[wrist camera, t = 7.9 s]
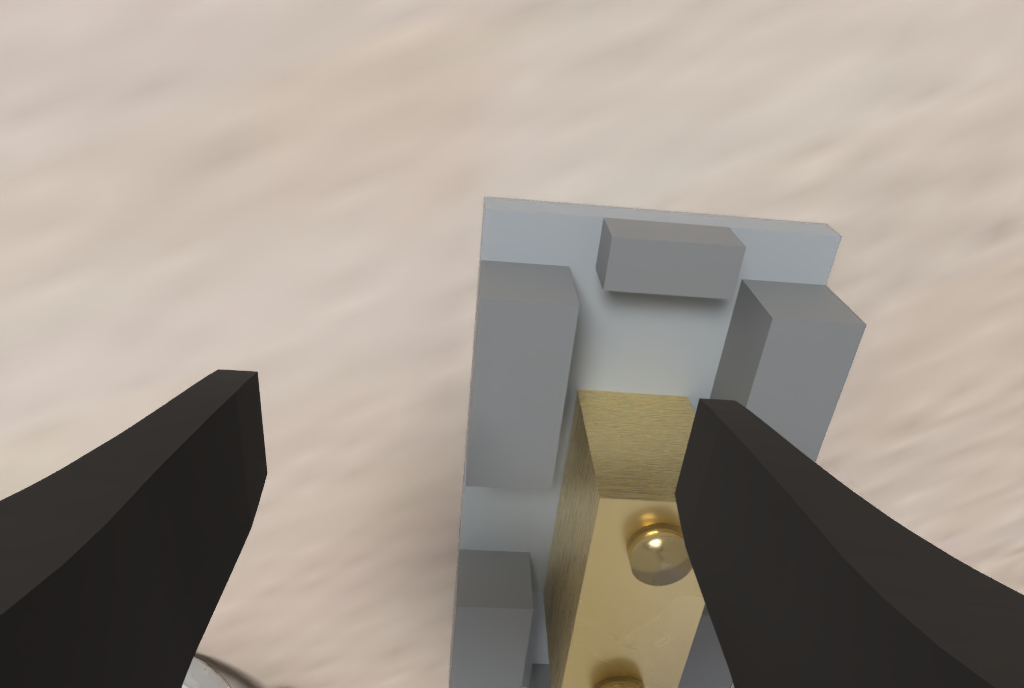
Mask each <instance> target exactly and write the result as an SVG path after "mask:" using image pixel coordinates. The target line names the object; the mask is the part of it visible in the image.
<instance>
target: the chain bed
mask: <svg viewBox="0 0 1024 688" xmlns="http://www.w3.org/2000/svg"><path fill="white" fill-rule="evenodd" d="M841 238H842V236H841V235H840V234H839V233H838V232H836V231H835V230H834V229H832V228H831V227H830V226H829V225H827V224H820V223H807V222H795V221H782V220H769V219H757V218H744V217H731V216H719V215H706V214H694V213H681V212H668V211H656V210H643V209H631V208H618V207H605V206H593V205H580V204H568V203H555V202H542V201H530V200H517V199H505V198H492V197H484V210H483V224H482V237H481V251H480V264H479V278H478V291H477V304H476V318H475V331H474V345H473V358H472V372H471V385H470V399H469V412H468V425H467V439H466V452H465V466H464V479H463V493H462V506H461V520H460V533H459V547H458V560H457V573H456V587H455V600H454V614H453V627H452V641H451V654H450V669H449V688H551V678H550V667H549V656H548V644H547V633H546V622H545V611H544V600H543V591H544V585H545V579H546V573H547V567H548V561H549V555H550V549H551V543H552V537H553V531H554V525H555V519H556V513H557V507H558V501H559V495H560V489H561V483H562V477H563V471H564V465H565V459H566V454H567V448H568V442H569V436H570V430H571V424H572V418H573V412H574V406H575V400H576V394H577V389H579V390H594V391H610V392H625V393H640V394H656V395H671V396H686V397H688V399H689V401H690V403H691V405H692V408H693V410H694V412H695V414H696V410H697V406H698V402H699V398H703V399H719V400H735V401H737V402H738V403H740V404H741V405H743V406H744V407H746V408H747V409H748V410H750V411H751V412H752V413H754V414H755V415H756V416H757V417H759V418H760V419H761V420H763V421H764V422H765V423H766V424H768V425H769V426H770V427H771V428H773V429H774V430H775V431H776V432H778V433H779V434H780V435H781V436H782V437H784V438H785V439H786V440H787V441H789V442H790V443H791V444H792V445H794V446H795V447H796V448H797V449H799V450H800V451H801V452H802V453H804V454H805V455H806V456H807V457H809V458H810V459H811V460H812V461H814V462H815V461H816V459H817V456H818V453H819V451H820V448H821V445H822V442H823V440H824V437H825V434H826V432H827V429H828V426H829V424H830V421H831V418H832V416H833V413H834V410H835V408H836V405H837V402H838V400H839V397H840V394H841V392H842V389H843V386H844V384H845V381H846V378H847V376H848V373H849V370H850V368H851V365H852V362H853V360H854V357H855V354H856V352H857V349H858V346H859V344H860V341H861V338H862V336H863V333H864V330H865V328H866V324H865V323H864V322H863V321H862V320H861V319H860V318H859V317H858V316H857V315H856V314H855V313H854V312H853V311H852V310H851V309H850V308H849V307H848V306H847V305H846V304H845V303H844V302H843V301H842V300H841V299H839V298H838V297H837V296H836V295H835V294H834V293H833V292H832V291H831V290H830V289H829V288H828V287H827V286H826V283H827V280H828V277H829V274H830V271H831V268H832V265H833V262H834V259H835V256H836V253H837V250H838V247H839V244H840V241H841ZM732 683H733V681H732V677H731V674H730V671H729V668H728V665H727V662H726V660H725V657H724V654H723V651H722V649H721V646H720V643H719V640H718V638H717V635H716V632H715V629H714V626H713V624H712V621H711V618H710V615H709V613H708V610H707V607H706V604H705V606H704V609H703V612H702V615H701V618H700V621H699V624H698V627H697V630H696V633H695V636H694V639H693V642H692V645H691V648H690V651H689V654H688V657H687V661H686V664H685V667H684V670H683V673H682V676H681V679H680V682H679V685H678V688H731V686H732Z"/></svg>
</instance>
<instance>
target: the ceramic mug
mask: <svg viewBox="0 0 1024 688" xmlns="http://www.w3.org/2000/svg"><path fill="white" fill-rule="evenodd" d="M182 688H231V687H230V685H229V684H228V682H227V681H226V680H225V679H224V678H223V677H222V676H221V675H219V674H218V673H217V672H216V671H215V670H214V669H212V668H211V667H210V666H208V665H207V663H206V662H204V661H202V660H200V659H198V658H196V657H193V660H192V662H191V665H190V667H189V670H188V672H187V675H186V677H185V680H184V682H183V685H182Z"/></svg>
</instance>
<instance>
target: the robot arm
mask: <svg viewBox="0 0 1024 688" xmlns="http://www.w3.org/2000/svg"><path fill="white" fill-rule="evenodd" d="M266 476H267V465H266V455H265V445H264V434H263V424H262V413H261V403H260V392H259V382H258V372H253V371H236V370H219V369H218V370H217V371H215V372H213V373H212V374H210V375H208V376H207V377H205V378H204V379H202V380H200V381H199V382H197V383H196V384H194V385H193V386H191V387H190V388H188V389H187V390H185V391H184V392H183V393H181V394H180V395H178V396H177V397H175V398H174V399H172V400H171V401H169V402H168V403H166V404H165V405H163V406H162V407H160V408H159V409H157V410H156V411H154V412H153V413H151V414H150V415H148V416H147V417H145V418H144V419H142V420H141V421H139V422H138V423H136V424H135V425H133V426H131V427H130V428H128V429H127V430H125V431H124V432H122V433H121V434H119V435H118V436H116V437H114V438H112V439H111V440H109V441H107V442H106V443H104V444H102V445H101V446H99V447H97V448H96V449H94V450H92V451H91V452H89V453H87V454H86V455H84V456H82V457H81V458H79V459H77V460H76V461H74V462H72V463H71V464H69V465H67V466H66V467H64V468H62V469H61V470H59V471H57V472H55V473H53V474H52V475H50V476H48V477H46V478H44V479H42V480H41V481H39V482H37V483H35V484H33V485H31V486H29V487H27V488H25V489H23V490H21V491H19V492H17V493H15V494H13V495H11V496H9V497H7V498H5V499H3V500H1V501H0V688H182V685H183V682H184V680H185V677H186V675H187V672H188V670H189V667H190V665H191V662H192V660H193V657H194V655H195V652H196V650H197V648H198V646H199V643H200V641H201V639H202V637H203V635H204V632H205V630H206V628H207V626H208V624H209V621H210V619H211V617H212V615H213V612H214V610H215V608H216V606H217V604H218V601H219V599H220V597H221V595H222V593H223V590H224V588H225V586H226V584H227V582H228V579H229V577H230V575H231V573H232V571H233V568H234V566H235V564H236V562H237V559H238V557H239V555H240V553H241V550H242V548H243V546H244V544H245V541H246V539H247V537H248V534H249V532H250V530H251V527H252V524H253V521H254V517H255V514H256V511H257V508H258V505H259V501H260V497H261V494H262V490H263V487H264V483H265V480H266ZM675 499H676V504H677V509H678V514H679V520H680V525H681V529H682V534H683V538H684V543H685V547H686V550H687V553H688V556H689V559H690V562H691V565H692V568H693V570H694V573H695V576H696V579H697V582H698V585H699V588H700V590H701V593H702V596H703V599H704V601H705V604H706V607H707V610H708V613H709V615H710V618H711V621H712V624H713V626H714V629H715V632H716V635H717V638H718V640H719V643H720V646H721V649H722V651H723V654H724V657H725V660H726V662H727V665H728V668H729V671H730V674H731V677H732V681H733V684H734V687H735V688H1024V595H1022V594H1020V593H1018V592H1017V591H1015V590H1013V589H1011V588H1009V587H1007V586H1005V585H1003V584H1001V583H999V582H998V581H996V580H994V579H992V578H990V577H988V576H986V575H984V574H982V573H980V572H979V571H977V570H975V569H973V568H972V567H970V566H968V565H966V564H964V563H963V562H961V561H959V560H957V559H956V558H954V557H952V556H951V555H949V554H947V553H946V552H944V551H942V550H941V549H939V548H937V547H936V546H934V545H933V544H931V543H929V542H928V541H926V540H924V539H923V538H921V537H920V536H918V535H916V534H915V533H913V532H911V531H910V530H908V529H907V528H905V527H904V526H902V525H901V524H899V523H898V522H896V521H894V520H893V519H891V518H890V517H888V516H887V515H886V514H884V513H883V512H881V511H880V510H879V509H877V508H876V507H874V506H873V505H871V504H870V503H869V502H867V501H866V500H864V499H863V498H862V497H860V496H859V495H857V494H856V493H854V492H853V491H852V490H850V489H849V488H848V487H846V486H845V485H844V484H842V483H841V482H840V481H838V480H837V479H836V478H834V477H833V476H832V475H830V474H829V473H828V472H827V471H825V470H824V469H823V468H821V467H820V466H819V465H818V464H816V463H815V462H814V461H812V460H811V459H810V458H809V457H807V456H806V455H805V454H804V453H802V452H801V451H800V450H799V449H797V448H796V447H795V446H794V445H792V444H791V443H790V442H789V441H787V440H786V439H785V438H784V437H782V436H781V435H780V434H779V433H778V432H776V431H775V430H774V429H773V428H771V427H770V426H769V425H768V424H766V423H765V422H764V421H763V420H761V419H760V418H759V417H757V416H756V415H755V414H754V413H752V412H751V411H750V410H748V409H747V408H746V407H744V406H743V405H741V404H740V403H738V402H737V401H735V400H719V399H703V398H699V402H698V406H697V410H696V414H695V417H694V421H693V425H692V429H691V433H690V437H689V440H688V444H687V448H686V452H685V456H684V460H683V463H682V467H681V471H680V475H679V479H678V483H677V486H676V490H675Z"/></svg>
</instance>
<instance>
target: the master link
mask: <svg viewBox="0 0 1024 688" xmlns="http://www.w3.org/2000/svg"><path fill="white" fill-rule="evenodd" d="M694 417H695V412H694V410H693V408H692V405H691V403H690V401H689V399H688V397H686V396H671V395H656V394H640V393H625V392H610V391H594V390H579V389H577V394H576V400H575V406H574V412H573V418H572V424H571V430H570V436H569V442H568V448H567V454H566V459H565V465H564V471H563V477H562V483H561V489H560V495H559V501H558V507H557V513H556V519H555V525H554V531H553V537H552V543H551V549H550V555H549V561H548V567H547V573H546V579H545V585H544V591H543V600H544V611H545V622H546V633H547V644H548V656H549V667H550V678H551V688H678V685H679V682H680V679H681V676H682V673H683V670H684V667H685V664H686V661H687V657H688V654H689V651H690V648H691V645H692V642H693V639H694V636H695V633H696V630H697V627H698V624H699V621H700V618H701V615H702V612H703V609H704V606H705V601H704V599H703V596H702V593H701V590H700V588H699V585H698V582H697V579H696V576H695V573H694V570H693V568H692V565H691V562H690V559H689V556H688V553H687V550H686V547H685V543H684V538H683V534H682V529H681V525H680V520H679V514H678V509H677V504H676V499H675V490H676V486H677V483H678V479H679V475H680V471H681V467H682V463H683V460H684V456H685V452H686V448H687V444H688V440H689V437H690V433H691V429H692V425H693V421H694Z"/></svg>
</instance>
